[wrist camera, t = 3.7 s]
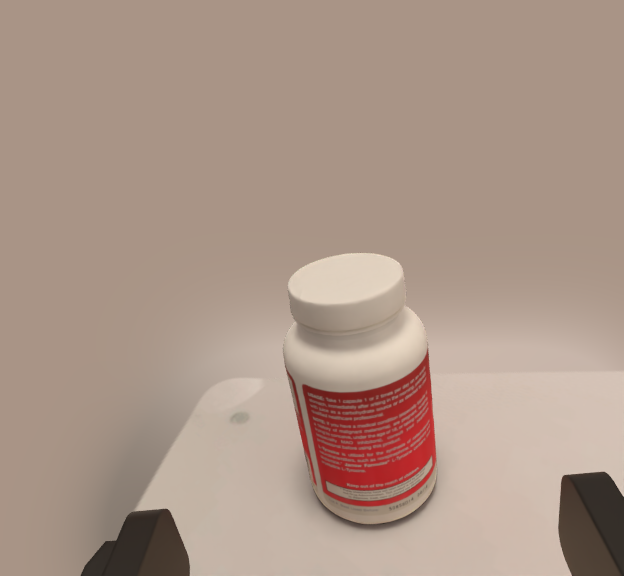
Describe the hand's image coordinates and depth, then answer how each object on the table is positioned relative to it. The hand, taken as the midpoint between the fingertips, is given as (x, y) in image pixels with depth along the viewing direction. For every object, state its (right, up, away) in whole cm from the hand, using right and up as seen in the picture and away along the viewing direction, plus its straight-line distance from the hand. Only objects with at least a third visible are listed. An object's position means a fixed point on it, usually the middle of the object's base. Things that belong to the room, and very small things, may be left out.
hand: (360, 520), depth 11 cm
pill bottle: (+2, -5, +15) cm, 16 cm away
